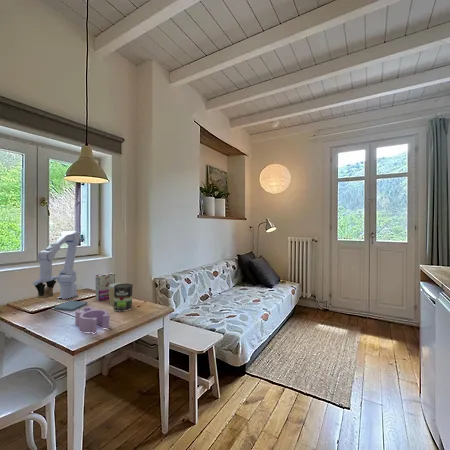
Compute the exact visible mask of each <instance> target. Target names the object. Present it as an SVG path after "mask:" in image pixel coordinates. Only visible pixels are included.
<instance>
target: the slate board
mask: <svg viewBox="0 0 450 450" xmlns="http://www.w3.org/2000/svg"><path fill="white" fill-rule="evenodd" d="M86 305H88V302H86V301H77V300H68V301H65V302H64V303H61V304H59V305H55V306H54V308H53V310H60V311H66V312H67V311H68V312H75V311H76V310H77V309H80V308H82V307H84V306H85V307H86Z"/></svg>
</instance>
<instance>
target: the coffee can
mask: <svg viewBox="0 0 450 450" xmlns="http://www.w3.org/2000/svg"><path fill="white" fill-rule="evenodd" d="M133 287H134V285H133V284H131V283H127V282H126V283H123V284H117V285H115V286H114V306H113V312H116V311H119V312H118V313H121V312H120V311H125V312H127V311H126V310H129V309H131V308H132V309H133ZM132 309H131V310H132ZM129 311H130V310H129Z"/></svg>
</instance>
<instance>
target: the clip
mask: <svg viewBox="0 0 450 450" xmlns="http://www.w3.org/2000/svg"><path fill="white" fill-rule="evenodd" d="M83 308H84V309H83V310H84V311H81V309H80V308H78V309H76V310H75V311H74V313H75V315H74V316H75V317H74V318H75V321H74V324H75V326H76V325H78V326H77V327H78V329H79V330H80V331H82V332H93V333H95V332H96V331H97V330H98V329H97V326H98V325H97V323H102V324H101V325H102V328H109V329H110V317H111V315H110V314H109V311H108V310H105V309H96V308H94V307H92V306H85V307H84V306H83ZM102 328H101V329H102ZM79 330H78V331H79ZM80 331H79V332H80ZM82 332H81V333H82ZM93 333H92V334H93ZM96 333H97V332H96Z"/></svg>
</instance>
